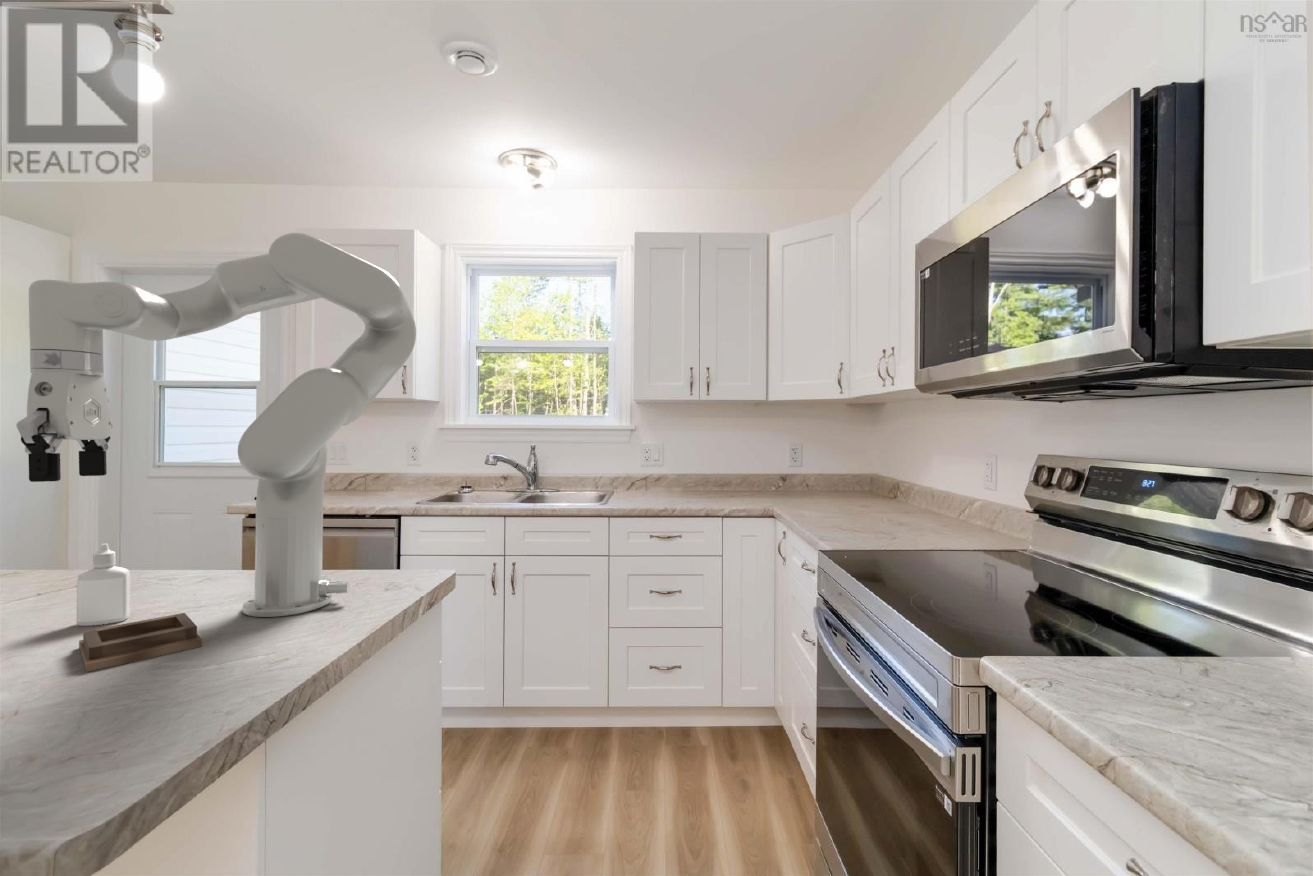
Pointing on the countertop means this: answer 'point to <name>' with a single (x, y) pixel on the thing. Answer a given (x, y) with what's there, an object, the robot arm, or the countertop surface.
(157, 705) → the countertop surface
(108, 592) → the eye dropper bottle
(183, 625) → the pocket plate
